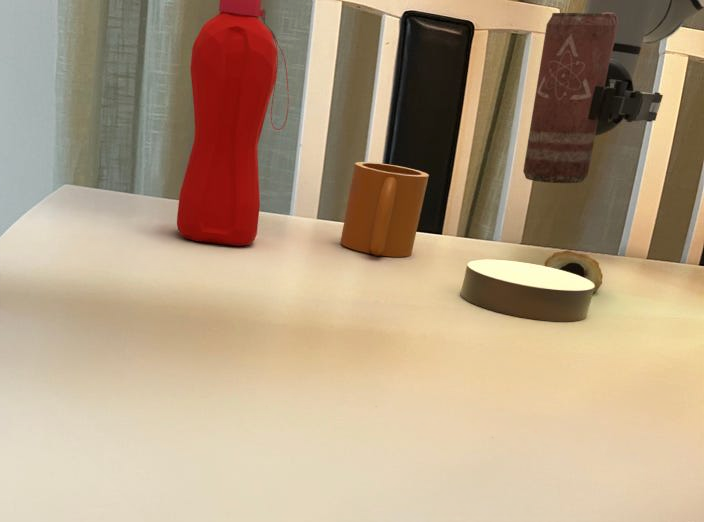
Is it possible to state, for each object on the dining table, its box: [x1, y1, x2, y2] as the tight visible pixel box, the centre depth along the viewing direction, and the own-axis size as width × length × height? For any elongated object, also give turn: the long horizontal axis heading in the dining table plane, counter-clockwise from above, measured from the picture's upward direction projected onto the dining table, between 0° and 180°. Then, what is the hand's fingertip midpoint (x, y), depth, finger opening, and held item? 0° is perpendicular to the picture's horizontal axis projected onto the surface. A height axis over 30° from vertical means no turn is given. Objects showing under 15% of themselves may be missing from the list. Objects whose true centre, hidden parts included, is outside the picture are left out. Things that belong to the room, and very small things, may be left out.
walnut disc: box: [460, 259, 595, 323], centre depth 104 cm, size 13×13×3 cm
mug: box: [340, 161, 430, 258], centre depth 118 cm, size 9×12×9 cm
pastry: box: [543, 250, 604, 292], centre depth 115 cm, size 9×7×4 cm
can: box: [523, 12, 618, 184], centre depth 95 cm, size 6×6×14 cm
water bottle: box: [176, 0, 290, 247], centre depth 110 cm, size 9×11×25 cm
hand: (601, 104), depth 93 cm, fingers closed on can
